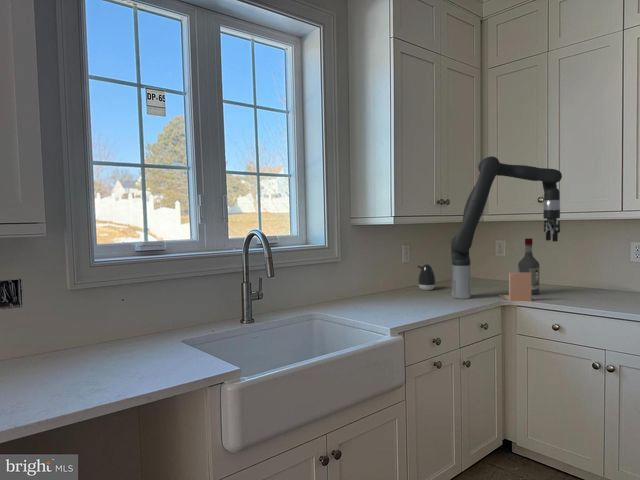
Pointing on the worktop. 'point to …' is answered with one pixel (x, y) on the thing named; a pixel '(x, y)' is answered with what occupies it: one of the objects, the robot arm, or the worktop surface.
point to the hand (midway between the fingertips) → (551, 240)
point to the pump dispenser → (426, 277)
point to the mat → (506, 297)
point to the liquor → (530, 266)
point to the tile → (520, 286)
